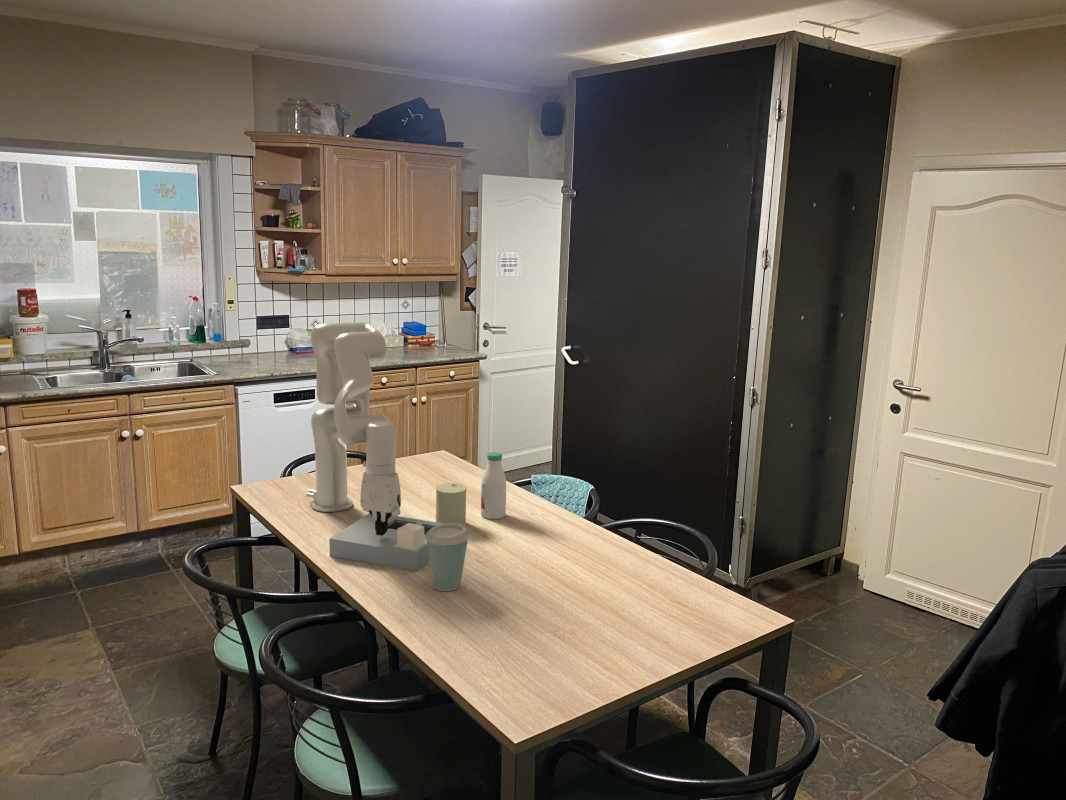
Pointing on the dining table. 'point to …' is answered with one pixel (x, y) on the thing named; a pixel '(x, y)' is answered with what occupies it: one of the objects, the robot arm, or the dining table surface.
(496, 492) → the milk bottle
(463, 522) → the can
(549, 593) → the dining table surface
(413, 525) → the block
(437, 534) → the disposable coffee cup
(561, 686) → the dining table surface
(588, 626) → the dining table surface
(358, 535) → the box
